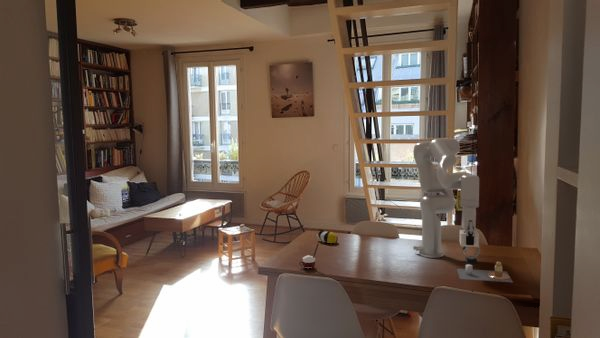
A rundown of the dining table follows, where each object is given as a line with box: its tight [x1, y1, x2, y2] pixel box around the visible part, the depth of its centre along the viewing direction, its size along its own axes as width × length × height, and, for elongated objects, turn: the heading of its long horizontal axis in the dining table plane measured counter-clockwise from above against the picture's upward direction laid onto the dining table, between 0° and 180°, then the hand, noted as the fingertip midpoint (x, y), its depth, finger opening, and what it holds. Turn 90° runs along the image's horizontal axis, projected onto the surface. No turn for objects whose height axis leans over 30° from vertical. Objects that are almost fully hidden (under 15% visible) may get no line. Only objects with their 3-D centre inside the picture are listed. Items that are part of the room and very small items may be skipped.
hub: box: [487, 261, 511, 280], centre depth 184 cm, size 9×9×6 cm
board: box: [456, 263, 514, 283], centre depth 186 cm, size 21×14×6 cm, turn 74°
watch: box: [461, 246, 481, 264], centre depth 205 cm, size 6×8×11 cm
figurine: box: [316, 228, 339, 244], centre depth 254 cm, size 8×15×8 cm, turn 45°
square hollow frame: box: [459, 229, 480, 248], centre depth 186 cm, size 7×7×6 cm
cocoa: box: [299, 242, 319, 268], centre depth 206 cm, size 10×6×12 cm, turn 70°
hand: (468, 242), depth 187 cm, fingers closed on square hollow frame, 7 cm apart
